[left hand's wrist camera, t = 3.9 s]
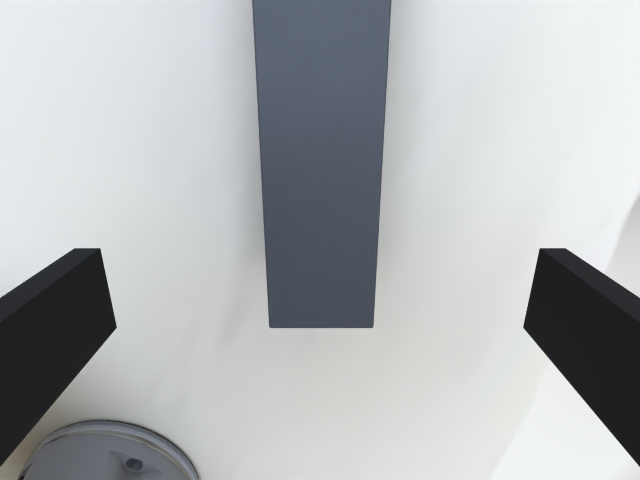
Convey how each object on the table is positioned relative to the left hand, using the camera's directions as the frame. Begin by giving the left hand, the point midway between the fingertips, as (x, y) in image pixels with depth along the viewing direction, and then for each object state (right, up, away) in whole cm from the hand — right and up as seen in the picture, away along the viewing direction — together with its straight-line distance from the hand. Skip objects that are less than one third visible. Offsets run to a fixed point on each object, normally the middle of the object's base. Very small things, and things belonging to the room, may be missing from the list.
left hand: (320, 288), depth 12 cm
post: (0, +34, +4) cm, 34 cm away
